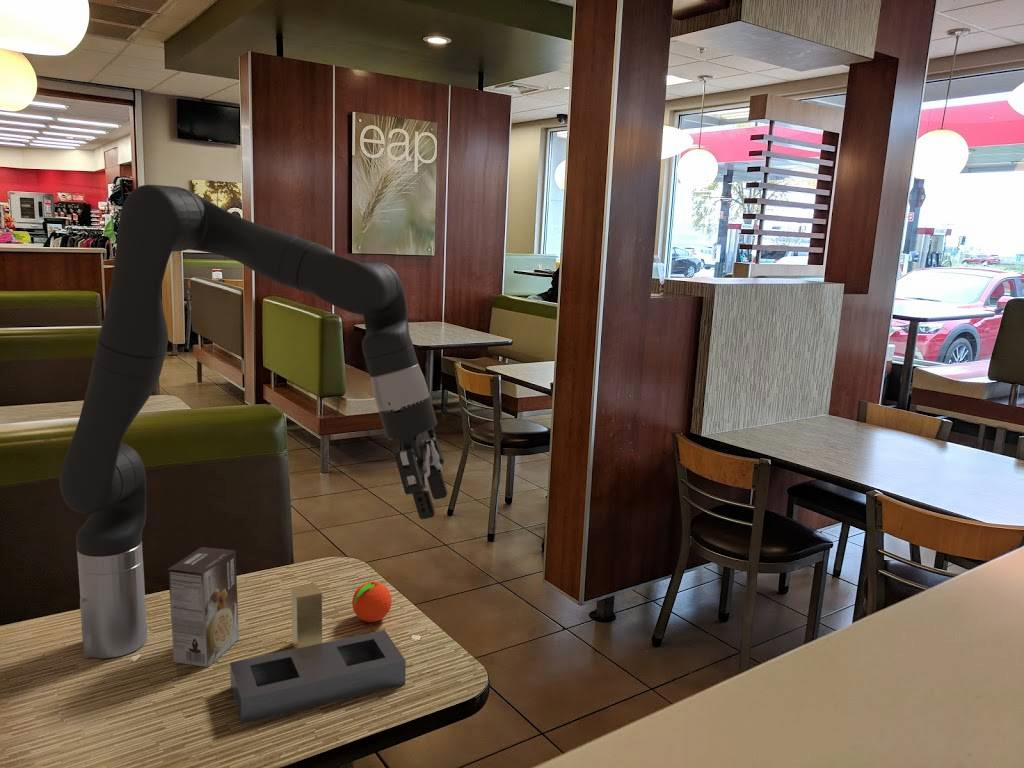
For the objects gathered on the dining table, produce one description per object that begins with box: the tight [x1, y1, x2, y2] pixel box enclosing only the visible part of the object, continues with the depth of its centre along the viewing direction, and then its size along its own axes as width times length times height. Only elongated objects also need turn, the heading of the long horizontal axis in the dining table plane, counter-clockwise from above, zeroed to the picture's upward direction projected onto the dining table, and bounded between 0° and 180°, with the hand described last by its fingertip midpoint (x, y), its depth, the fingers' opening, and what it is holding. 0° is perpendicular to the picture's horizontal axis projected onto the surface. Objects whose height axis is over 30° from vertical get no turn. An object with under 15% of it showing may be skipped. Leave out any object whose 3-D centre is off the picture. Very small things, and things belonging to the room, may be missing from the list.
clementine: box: [351, 581, 393, 623], centre depth 136 cm, size 8×7×7 cm
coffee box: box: [167, 546, 240, 668], centre depth 124 cm, size 9×6×16 cm
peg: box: [290, 582, 323, 649], centre depth 127 cm, size 4×4×10 cm
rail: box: [229, 629, 407, 725], centre depth 117 cm, size 24×10×4 cm, turn 118°
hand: (434, 507), depth 112 cm, fingers open, 8 cm apart
